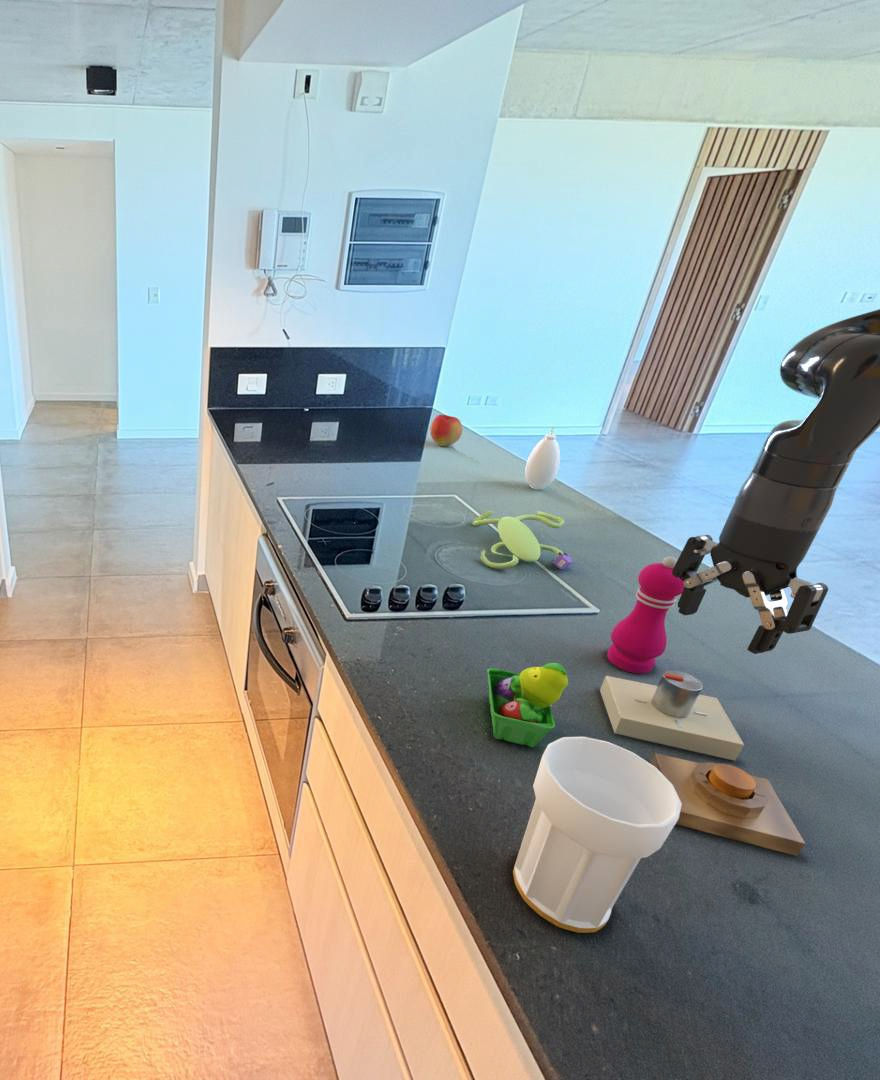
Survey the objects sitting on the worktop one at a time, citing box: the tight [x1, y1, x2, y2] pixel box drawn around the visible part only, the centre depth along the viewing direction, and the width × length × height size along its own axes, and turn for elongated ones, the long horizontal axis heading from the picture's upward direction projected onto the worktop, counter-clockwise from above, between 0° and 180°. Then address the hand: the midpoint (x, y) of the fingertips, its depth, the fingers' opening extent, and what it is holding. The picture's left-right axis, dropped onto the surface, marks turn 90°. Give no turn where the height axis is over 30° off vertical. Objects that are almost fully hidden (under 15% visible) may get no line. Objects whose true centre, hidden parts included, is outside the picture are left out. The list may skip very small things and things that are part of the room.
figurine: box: [471, 510, 573, 570], centre depth 138 cm, size 18×27×6 cm
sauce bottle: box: [524, 425, 561, 491], centre depth 168 cm, size 8×8×18 cm
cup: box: [512, 736, 682, 934], centre depth 64 cm, size 11×11×17 cm
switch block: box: [649, 752, 806, 857], centre depth 76 cm, size 12×10×4 cm
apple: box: [429, 414, 463, 447], centre depth 205 cm, size 10×10×10 cm
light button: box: [708, 763, 756, 800], centre depth 75 cm, size 4×4×2 cm
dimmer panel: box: [599, 675, 745, 762], centre depth 89 cm, size 14×10×3 cm
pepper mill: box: [606, 556, 685, 675], centre depth 98 cm, size 7×7×20 cm
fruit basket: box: [486, 662, 569, 748], centre depth 88 cm, size 11×9×11 cm
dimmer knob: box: [652, 669, 703, 718], centre depth 88 cm, size 4×4×5 cm
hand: (719, 631), depth 77 cm, fingers open, 8 cm apart
